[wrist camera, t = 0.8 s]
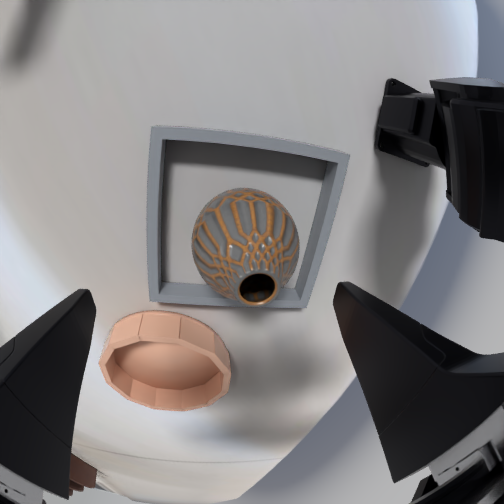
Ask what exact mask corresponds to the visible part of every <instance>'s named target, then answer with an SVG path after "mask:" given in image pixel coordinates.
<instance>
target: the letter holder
mask: <svg viewBox="0 0 504 504" xmlns="http://www.w3.org/2000/svg"><path fill="white" fill-rule="evenodd" d="M96 474H97V469H95V468H94V467H92V466H90V465H89V464H87V463H86V462H84V461H82V460H81V459H79V458H78V457H76V456H75V455H73V454H72V453H71V462H70V478H69V496H72V494H73V490H76V491H80V492H82V491H83V490H84V486H85V487H88V488H95V482H96Z"/></svg>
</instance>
